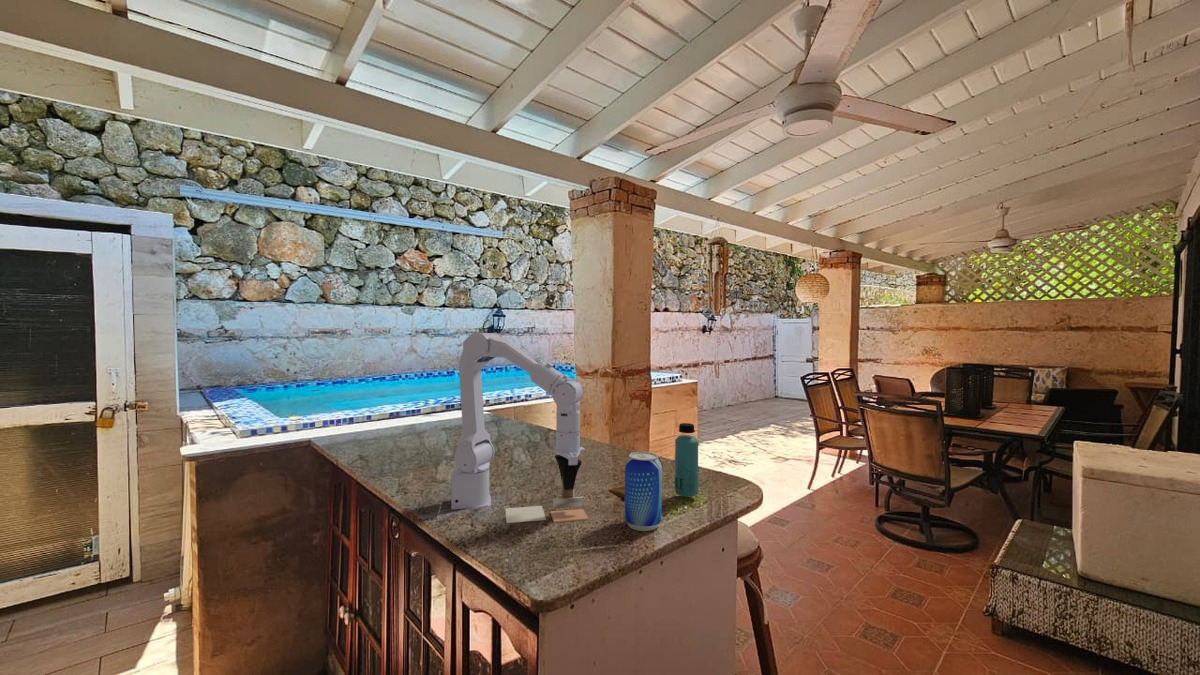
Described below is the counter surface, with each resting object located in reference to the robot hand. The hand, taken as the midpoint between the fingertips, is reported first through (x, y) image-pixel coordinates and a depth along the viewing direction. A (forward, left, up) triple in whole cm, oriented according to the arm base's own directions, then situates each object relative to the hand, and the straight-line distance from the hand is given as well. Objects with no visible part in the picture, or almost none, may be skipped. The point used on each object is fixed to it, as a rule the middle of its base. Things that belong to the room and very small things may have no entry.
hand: (567, 487), depth 111 cm
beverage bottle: (+33, +5, -7) cm, 34 cm away
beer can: (+16, -9, -7) cm, 20 cm away
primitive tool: (+18, +7, -8) cm, 21 cm away
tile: (0, +1, -7) cm, 7 cm away
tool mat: (-10, +2, -7) cm, 12 cm away
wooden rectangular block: (0, 0, -4) cm, 4 cm away
